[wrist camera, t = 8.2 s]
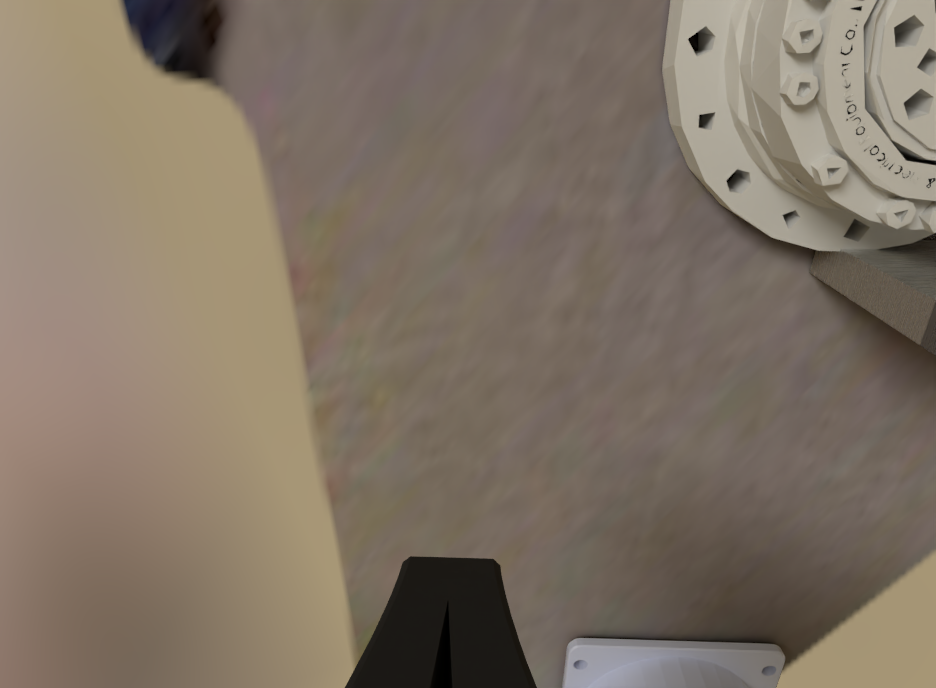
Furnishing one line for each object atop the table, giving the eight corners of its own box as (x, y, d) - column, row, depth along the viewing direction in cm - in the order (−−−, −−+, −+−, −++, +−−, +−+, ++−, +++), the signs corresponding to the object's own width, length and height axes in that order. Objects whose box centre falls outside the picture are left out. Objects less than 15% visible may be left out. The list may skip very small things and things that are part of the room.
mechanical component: (1009, 233, 17) (1171, -240, 13) (1172, 288, 13) (1485, -375, 9) (642, 242, 17) (684, -219, 13) (690, 298, 13) (773, -340, 9)
